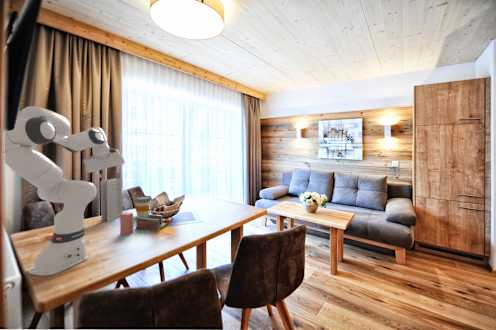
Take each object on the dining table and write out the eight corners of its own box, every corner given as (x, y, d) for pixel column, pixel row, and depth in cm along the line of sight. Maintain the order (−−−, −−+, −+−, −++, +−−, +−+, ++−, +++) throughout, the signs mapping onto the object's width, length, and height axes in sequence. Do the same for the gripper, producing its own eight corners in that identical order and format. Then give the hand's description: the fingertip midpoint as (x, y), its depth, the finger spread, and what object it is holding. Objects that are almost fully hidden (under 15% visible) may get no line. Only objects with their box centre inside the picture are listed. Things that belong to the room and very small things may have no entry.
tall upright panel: (107, 221, 158) (106, 181, 156) (101, 221, 160) (100, 180, 157) (122, 215, 172) (122, 178, 170) (116, 215, 173) (116, 178, 171)
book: (128, 234, 137) (128, 214, 136) (120, 234, 138) (120, 214, 137) (133, 232, 141) (132, 213, 140) (124, 231, 142) (124, 212, 141)
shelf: (157, 231, 144) (157, 220, 143) (135, 229, 146) (135, 218, 146) (166, 225, 155) (166, 215, 155) (146, 223, 158) (146, 213, 157)
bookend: (161, 224, 153) (161, 215, 153) (148, 222, 155) (148, 214, 154) (162, 223, 154) (162, 215, 154) (149, 222, 156) (149, 214, 156)
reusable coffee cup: (144, 212, 183) (144, 195, 182) (155, 215, 177) (155, 197, 176) (131, 216, 172) (130, 198, 170) (141, 219, 166) (141, 200, 165)
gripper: (80, 157, 126) (87, 179, 125) (119, 148, 134) (126, 169, 133) (84, 159, 131) (91, 180, 131) (121, 150, 139) (128, 170, 139)
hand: (109, 175), depth 132 cm, fingers open, 8 cm apart
